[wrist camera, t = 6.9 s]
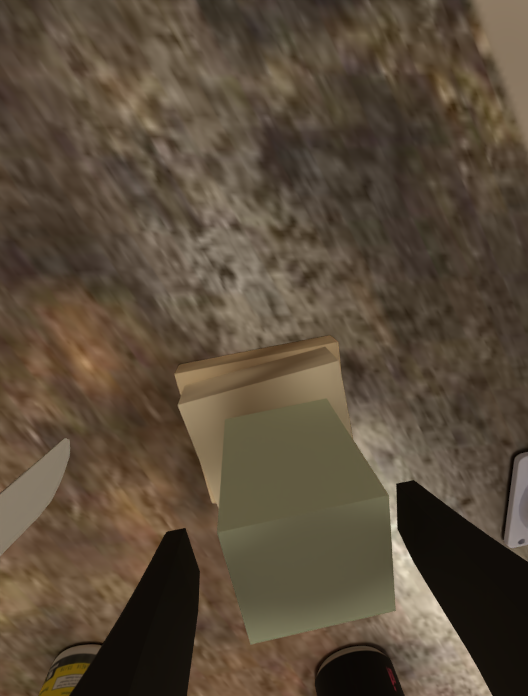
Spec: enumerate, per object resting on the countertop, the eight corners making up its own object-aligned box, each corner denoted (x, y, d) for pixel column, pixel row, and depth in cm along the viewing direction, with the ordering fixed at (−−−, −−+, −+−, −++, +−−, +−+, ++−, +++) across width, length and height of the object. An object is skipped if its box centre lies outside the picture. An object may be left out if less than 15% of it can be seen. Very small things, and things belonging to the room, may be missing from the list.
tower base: (326, 331, 16) (338, 341, 14) (338, 451, 19) (350, 473, 17) (181, 359, 16) (174, 374, 14) (214, 477, 18) (212, 503, 16)
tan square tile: (324, 346, 14) (338, 360, 12) (347, 461, 16) (362, 488, 15) (185, 384, 14) (177, 405, 12) (226, 495, 16) (225, 526, 14)
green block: (326, 398, 13) (388, 494, 8) (336, 480, 14) (395, 610, 9) (225, 419, 13) (217, 532, 7) (245, 500, 14) (250, 644, 9)
